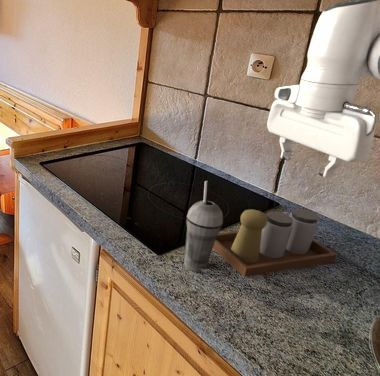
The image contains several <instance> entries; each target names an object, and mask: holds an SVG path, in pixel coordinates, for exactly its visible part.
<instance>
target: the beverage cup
mask: <svg viewBox="0 0 380 376" xmlns="http://www.w3.org/2000/svg"><path fill="white" fill-rule="evenodd" d="M207 193H208V180H205V181H204V187H203V200H200V201H197V202H195V203H193V204H192V206H190V208H189V209H188V211H187V214H186V216H185V219H186V234H185V235H186V236H185V237H186V238H185V245H184V246H185V247H184V254H183V255H184V257H183V258H184V260H183V261H184V262H183V265H184V266H185V268H186V269H188V270H190V271H193V272H202V269H205V268H206V267H207V265H208V263H209V260H210V257H211V255H212V251H213V250H214V249H213V246H214V243H215V240H216V237H217V234H218V233H220V231H221V229H222V227H223V226H224V216H223V212H222V210H221V208H220V207H219V205H218V204H217V203H215V202H213V201H210V200H207V195H208V194H207Z"/></svg>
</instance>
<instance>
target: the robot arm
mask: <svg viewBox="0 0 380 376" xmlns="http://www.w3.org/2000/svg"><path fill="white" fill-rule="evenodd" d="M306 56H307V63H306V67H305V70H304V71H303V73H302V75H301V77H300V81H299V83H298V84H296V83H295V84H293V85H287V86H281V87H277V88H276V89H275V92H274V98H275V100H274V101H273V102H272V104H271V106H270V110H269V112H268V113H269V114H268V118H267V122H266V128H267V130H268V132H269V133H270V134H274V135H277V136H279V140H278V141H279V146H280V150H281V153H280V159H282V160H284V161H292V160H293V159H294V156H295V151H293V150H292V143H293V142H295V143H297V144H300V145H302V146H305V147H308V148H311V149H313V150H316V151H318V152H321V153H324V154H326V155H329V156H328V161H330V162H328V164H327V165H323V166H320V167H319V172H318V175H319V176H321V177H322V178H325V179H331V178H332V177H334V174H335V170H336V169H338V168H339V167H340V166H341V165H342V164H344V163H345V162H347V163H355V162H356V163H357V162H363V161H365V160H366V159H367V158H368V157H369V156H370V154H371V150H372V149H373V148H372V147H373V143H374V138H375V131H376V127H377V124H378V122H379V121H378V120H379V117H378V116H377V114H376V113H375V111H373V108H371V107H370V106H364V105H363V106H362V105H359V104H356V103H354V101H355V98H356V95H357V93H358V90H359V89H358V88H359V85H360V83H361V80H362V79H363V78H365V77H373V78H375V79H377V80H378V81H380V0H344V1H339V2H335V3H332V4H331V5H329V6H328V7H326V8H324V10H323V11H322V12H321V14H320V16H319V18H318V20H317V22H316V24H315V27H314V30H313V33H312V35H311V39H310V43H309V46H308V50H307V55H306Z"/></svg>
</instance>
